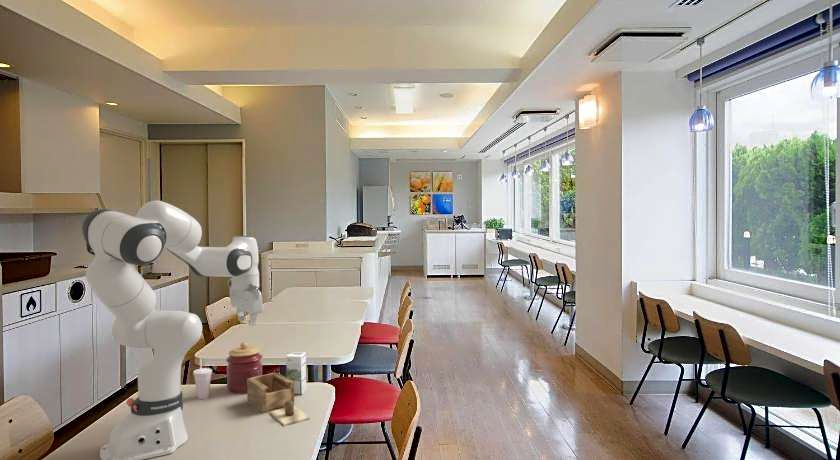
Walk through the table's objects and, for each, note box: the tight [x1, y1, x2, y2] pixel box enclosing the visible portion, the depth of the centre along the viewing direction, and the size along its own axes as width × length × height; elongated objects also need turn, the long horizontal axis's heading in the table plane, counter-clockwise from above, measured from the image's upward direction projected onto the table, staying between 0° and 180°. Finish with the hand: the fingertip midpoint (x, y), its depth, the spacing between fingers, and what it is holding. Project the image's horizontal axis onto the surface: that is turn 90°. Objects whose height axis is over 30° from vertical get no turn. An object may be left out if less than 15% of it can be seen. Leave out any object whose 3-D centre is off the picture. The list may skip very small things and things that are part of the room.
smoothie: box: [192, 358, 213, 400], centre depth 188 cm, size 6×6×14 cm
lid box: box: [246, 371, 295, 414], centre depth 181 cm, size 11×14×8 cm
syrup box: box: [285, 351, 307, 396], centre depth 192 cm, size 6×6×14 cm
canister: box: [225, 341, 263, 395], centre depth 196 cm, size 13×13×18 cm
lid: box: [269, 401, 310, 427], centre depth 170 cm, size 8×13×5 cm
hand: (246, 323), depth 177 cm, fingers open, 8 cm apart
